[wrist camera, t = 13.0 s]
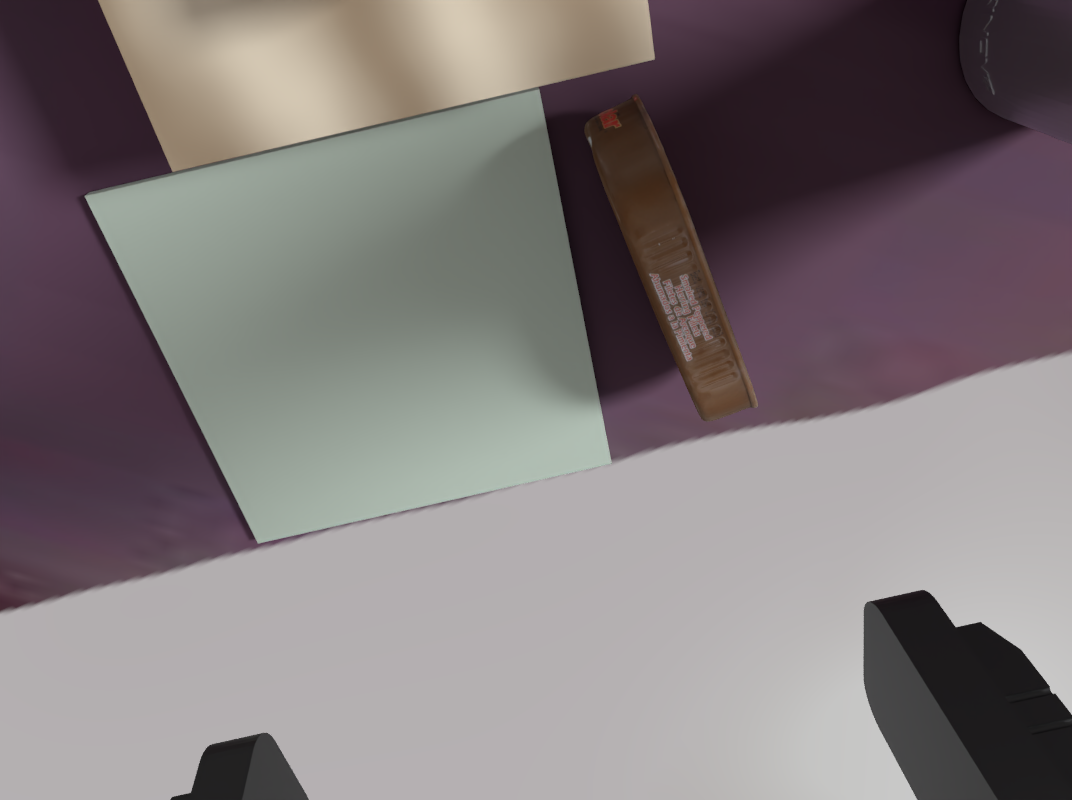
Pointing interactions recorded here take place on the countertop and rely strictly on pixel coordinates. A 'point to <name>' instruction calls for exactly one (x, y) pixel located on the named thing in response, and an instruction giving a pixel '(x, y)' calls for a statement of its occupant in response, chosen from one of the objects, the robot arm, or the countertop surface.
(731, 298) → the countertop surface
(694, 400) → the tin
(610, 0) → the cover board
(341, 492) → the mat
